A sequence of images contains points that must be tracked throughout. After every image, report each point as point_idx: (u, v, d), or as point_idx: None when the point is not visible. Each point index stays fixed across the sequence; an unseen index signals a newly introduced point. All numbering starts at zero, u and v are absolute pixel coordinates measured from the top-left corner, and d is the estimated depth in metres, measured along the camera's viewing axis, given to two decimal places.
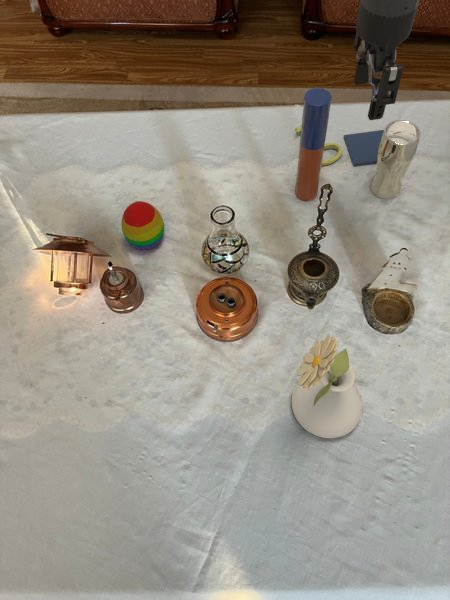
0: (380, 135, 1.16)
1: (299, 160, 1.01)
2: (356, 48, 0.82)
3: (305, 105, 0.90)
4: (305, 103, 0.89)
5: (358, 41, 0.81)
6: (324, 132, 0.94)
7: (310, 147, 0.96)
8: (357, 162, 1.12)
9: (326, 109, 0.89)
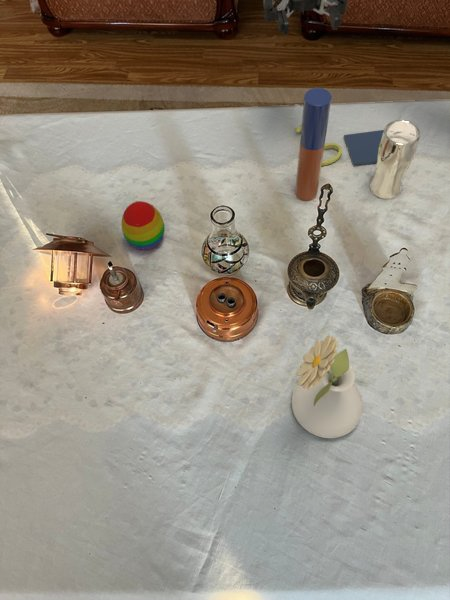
0: (380, 135, 1.16)
1: (299, 160, 1.01)
2: None
3: (305, 105, 0.90)
4: (305, 103, 0.89)
5: None
6: (324, 132, 0.94)
7: (310, 147, 0.96)
8: (357, 162, 1.12)
9: (326, 109, 0.89)
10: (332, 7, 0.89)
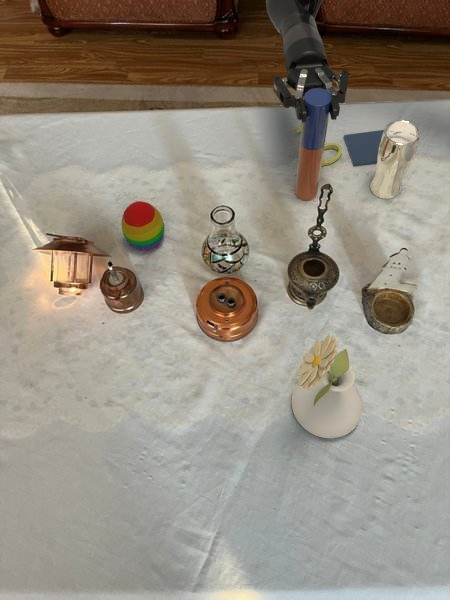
0: (380, 135, 1.16)
1: (299, 160, 1.01)
2: None
3: (305, 105, 0.90)
4: (305, 103, 0.89)
5: None
6: (324, 132, 0.94)
7: (310, 147, 0.96)
8: (357, 162, 1.12)
9: (326, 109, 0.89)
10: (331, 98, 0.90)
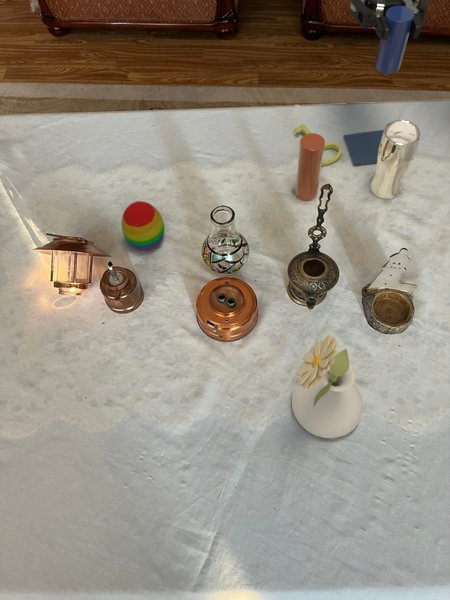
0: (380, 135, 1.16)
1: (299, 160, 1.01)
2: None
3: (387, 22, 0.89)
4: (387, 20, 0.89)
5: None
6: (402, 53, 0.93)
7: (386, 70, 0.95)
8: (357, 162, 1.12)
9: (408, 26, 0.88)
10: None
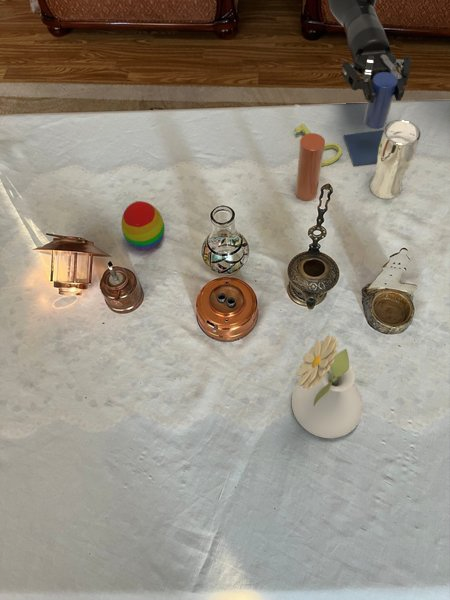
0: (380, 135, 1.16)
1: (299, 160, 1.01)
2: None
3: (373, 87, 1.01)
4: (373, 85, 1.00)
5: None
6: (387, 112, 1.05)
7: (373, 126, 1.07)
8: (357, 162, 1.12)
9: (392, 90, 1.00)
10: None
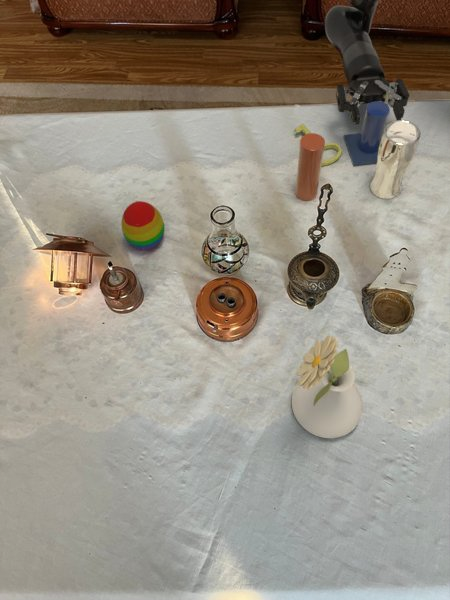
0: None
1: (299, 160, 1.01)
2: None
3: (367, 115, 1.07)
4: (367, 114, 1.06)
5: None
6: (380, 138, 1.11)
7: (367, 151, 1.13)
8: (357, 162, 1.12)
9: (385, 119, 1.06)
10: (396, 102, 1.07)
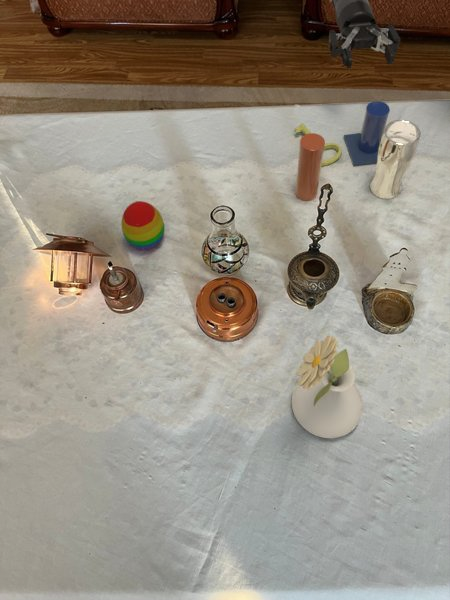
0: None
1: (299, 160, 1.01)
2: None
3: (367, 115, 1.07)
4: (367, 114, 1.06)
5: None
6: (380, 138, 1.11)
7: (367, 151, 1.13)
8: (357, 162, 1.12)
9: (385, 119, 1.06)
10: (387, 46, 1.09)
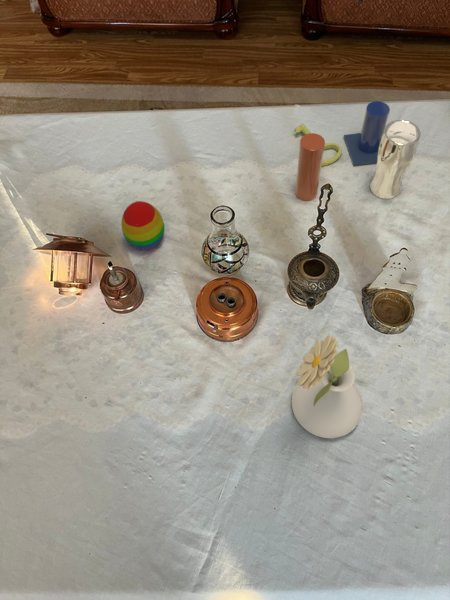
0: None
1: (299, 160, 1.01)
2: None
3: (367, 115, 1.07)
4: (367, 114, 1.06)
5: None
6: (380, 138, 1.11)
7: (367, 151, 1.13)
8: (357, 162, 1.12)
9: (385, 119, 1.06)
10: None
